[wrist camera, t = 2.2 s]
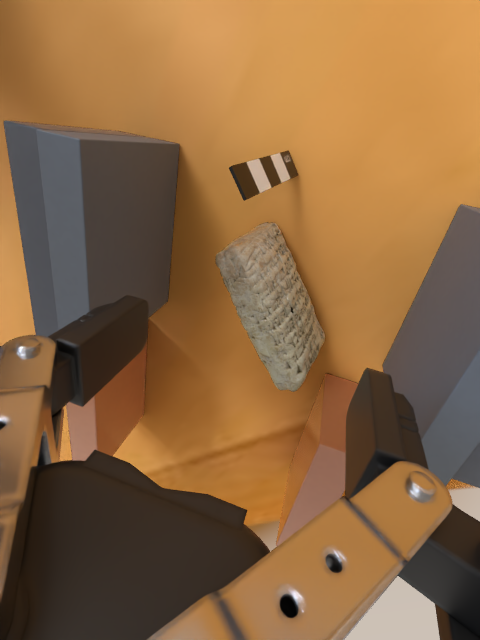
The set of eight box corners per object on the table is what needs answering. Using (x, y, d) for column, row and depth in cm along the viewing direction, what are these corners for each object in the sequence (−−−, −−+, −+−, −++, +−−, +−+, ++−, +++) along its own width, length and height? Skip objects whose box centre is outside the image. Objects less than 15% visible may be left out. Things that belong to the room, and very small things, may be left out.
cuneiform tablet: (288, 150, 19) (360, 328, 22) (228, 185, 22) (300, 340, 25) (231, 165, 14) (337, 397, 17) (160, 210, 16) (264, 403, 19)
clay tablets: (122, 406, 33) (72, 464, 27) (122, 309, 27) (59, 354, 21) (315, 476, 30) (308, 558, 24) (357, 382, 24) (362, 458, 18)
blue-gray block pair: (119, 287, 26) (27, 343, 19) (119, 131, 21) (-11, 118, 13) (444, 383, 23) (497, 505, 15) (545, 222, 17) (710, 279, 9)
